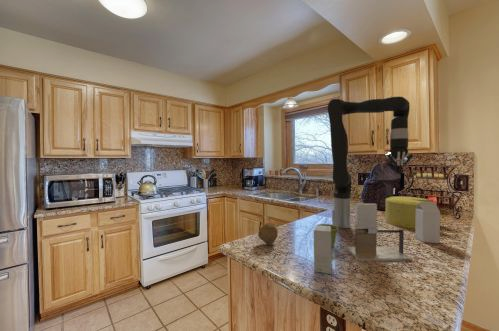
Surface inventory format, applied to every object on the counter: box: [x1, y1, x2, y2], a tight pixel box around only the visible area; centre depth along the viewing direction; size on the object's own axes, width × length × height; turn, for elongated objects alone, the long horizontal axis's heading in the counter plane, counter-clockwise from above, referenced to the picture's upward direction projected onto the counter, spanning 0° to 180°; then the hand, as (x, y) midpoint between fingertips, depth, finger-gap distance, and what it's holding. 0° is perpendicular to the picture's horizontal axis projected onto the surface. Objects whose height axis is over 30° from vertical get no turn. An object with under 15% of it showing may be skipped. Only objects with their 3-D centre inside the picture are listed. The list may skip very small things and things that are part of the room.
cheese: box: [384, 195, 435, 229], centre depth 142 cm, size 26×26×15 cm
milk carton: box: [414, 201, 441, 244], centre depth 111 cm, size 7×7×19 cm
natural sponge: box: [257, 222, 279, 246], centre depth 105 cm, size 9×9×10 cm
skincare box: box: [313, 224, 333, 275], centre depth 83 cm, size 8×6×15 cm
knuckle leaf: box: [354, 203, 378, 234], centre depth 94 cm, size 8×3×12 cm, turn 90°
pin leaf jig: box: [345, 228, 414, 262], centre depth 94 cm, size 21×12×11 cm, turn 90°
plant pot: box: [318, 223, 340, 248], centre depth 104 cm, size 9×9×9 cm
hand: (398, 173), depth 112 cm, fingers closed
